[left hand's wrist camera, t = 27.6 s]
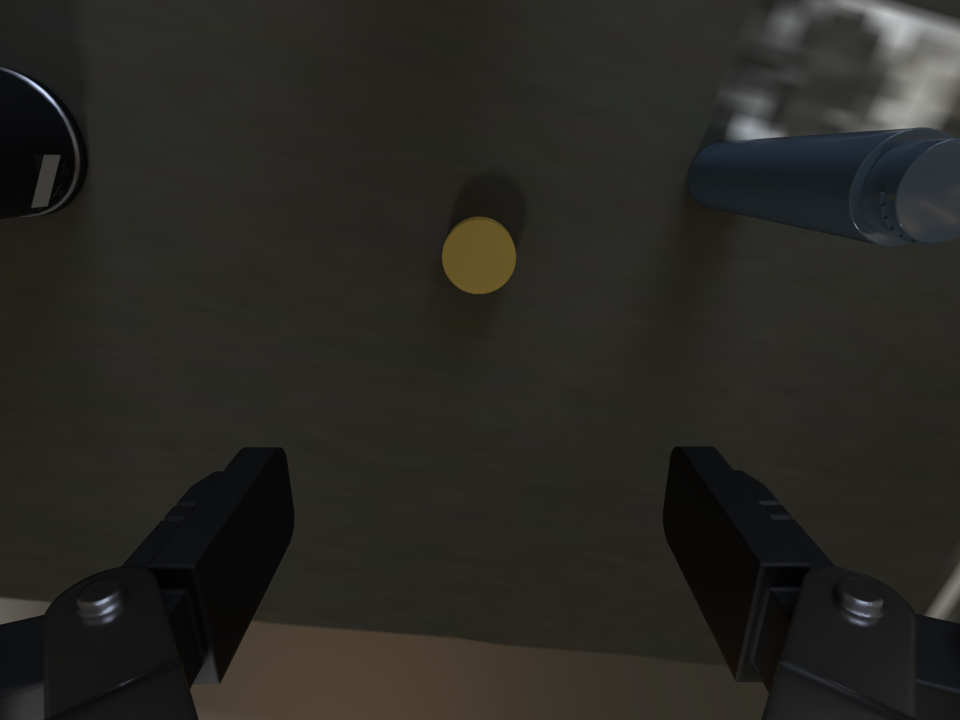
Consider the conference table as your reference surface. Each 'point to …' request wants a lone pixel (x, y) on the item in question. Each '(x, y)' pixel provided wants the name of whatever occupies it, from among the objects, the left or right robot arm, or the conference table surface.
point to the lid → (479, 255)
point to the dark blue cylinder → (840, 183)
